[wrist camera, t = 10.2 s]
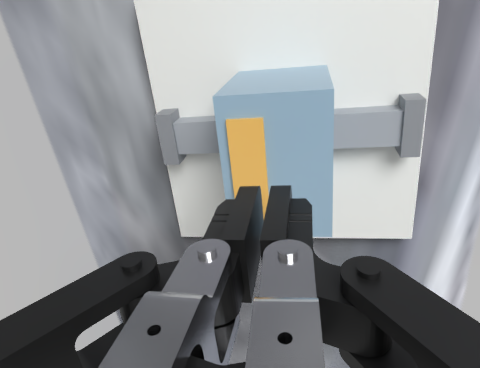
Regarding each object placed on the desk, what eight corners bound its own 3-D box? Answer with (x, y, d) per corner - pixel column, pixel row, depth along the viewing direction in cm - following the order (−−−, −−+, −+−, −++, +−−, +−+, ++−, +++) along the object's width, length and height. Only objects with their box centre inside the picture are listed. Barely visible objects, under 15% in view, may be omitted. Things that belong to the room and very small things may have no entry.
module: (238, 71, 21) (211, 97, 15) (326, 64, 20) (334, 90, 14) (249, 180, 24) (229, 238, 18) (326, 178, 23) (332, 239, 17)
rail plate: (140, -3, 21) (121, -4, 19) (437, -41, 18) (455, -48, 16) (185, 229, 28) (174, 248, 26) (408, 230, 25) (417, 252, 23)
